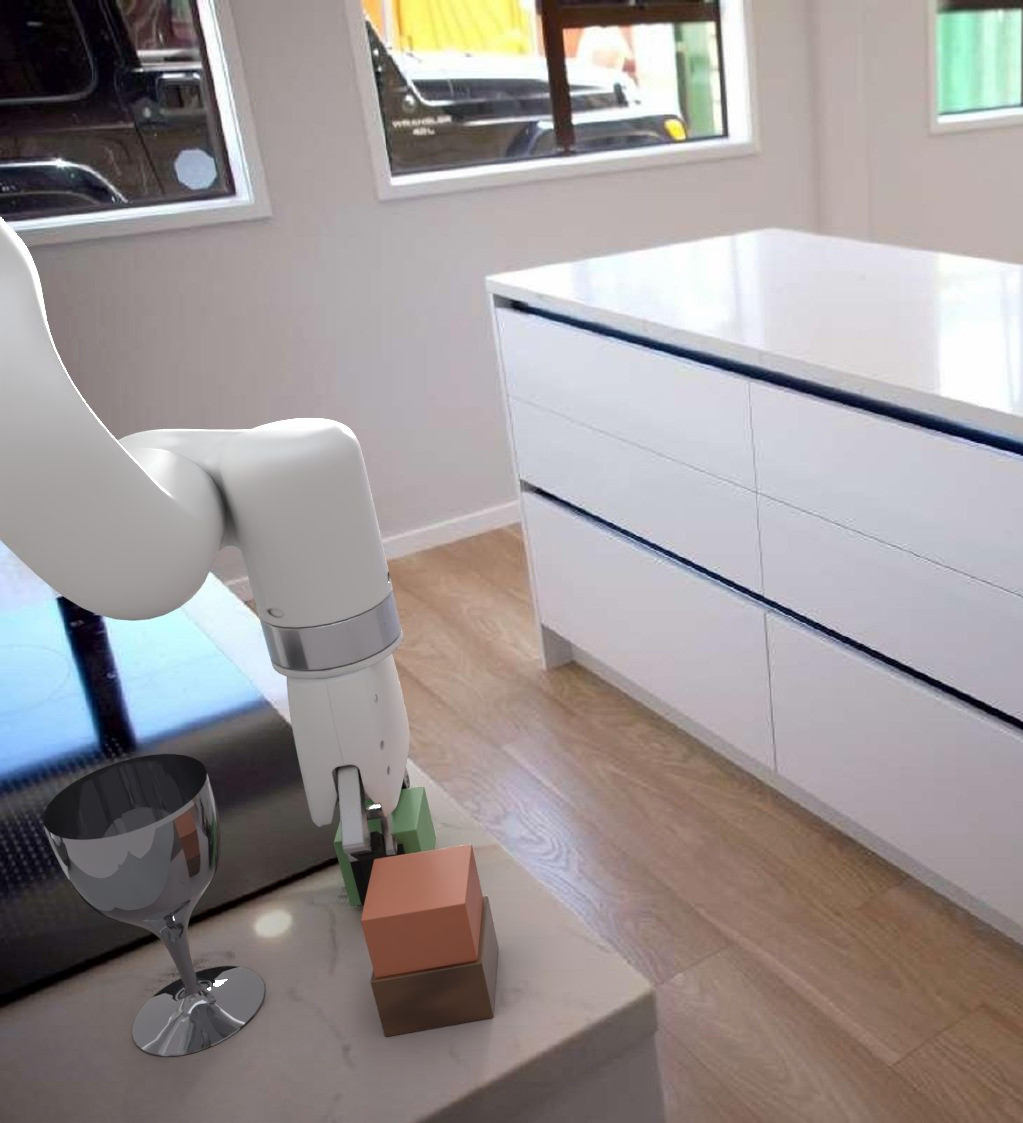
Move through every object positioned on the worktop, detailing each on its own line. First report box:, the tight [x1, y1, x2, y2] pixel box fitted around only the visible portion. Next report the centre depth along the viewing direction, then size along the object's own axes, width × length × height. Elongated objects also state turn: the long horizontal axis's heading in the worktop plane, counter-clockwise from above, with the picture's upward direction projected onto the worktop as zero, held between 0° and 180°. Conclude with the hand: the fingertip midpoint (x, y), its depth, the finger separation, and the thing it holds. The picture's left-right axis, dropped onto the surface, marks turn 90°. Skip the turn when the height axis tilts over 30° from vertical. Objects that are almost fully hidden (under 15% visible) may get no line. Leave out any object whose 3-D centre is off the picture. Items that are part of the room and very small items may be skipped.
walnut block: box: [369, 895, 499, 1037], centre depth 74 cm, size 6×6×4 cm
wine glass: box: [42, 753, 266, 1057], centre depth 71 cm, size 8×8×15 cm
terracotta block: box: [360, 843, 484, 978], centre depth 72 cm, size 6×6×4 cm
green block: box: [333, 785, 437, 907], centre depth 83 cm, size 5×5×5 cm
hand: (393, 870), depth 83 cm, fingers closed on green block, 5 cm apart
